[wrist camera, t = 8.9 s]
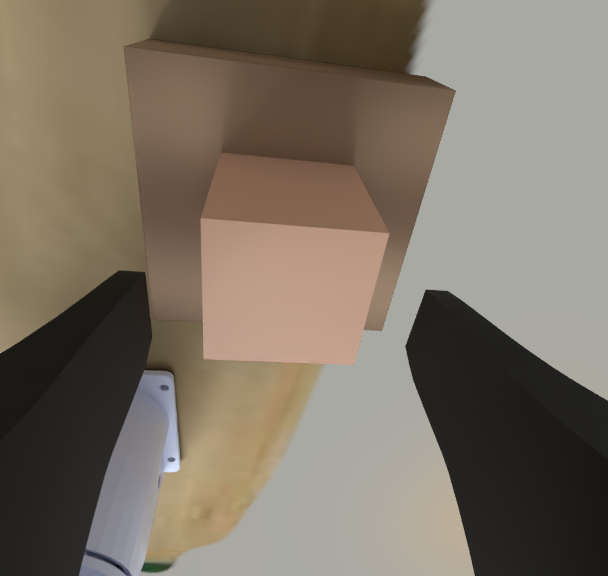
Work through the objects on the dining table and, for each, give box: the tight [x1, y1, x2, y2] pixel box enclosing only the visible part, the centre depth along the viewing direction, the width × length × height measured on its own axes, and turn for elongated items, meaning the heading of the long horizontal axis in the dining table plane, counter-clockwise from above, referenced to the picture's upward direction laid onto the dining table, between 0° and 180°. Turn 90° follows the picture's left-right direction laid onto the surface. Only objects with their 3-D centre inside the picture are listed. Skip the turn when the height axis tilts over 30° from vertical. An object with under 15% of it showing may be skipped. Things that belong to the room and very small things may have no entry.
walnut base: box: [124, 39, 455, 331], centre depth 16 cm, size 10×10×3 cm
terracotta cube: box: [201, 153, 389, 365], centre depth 13 cm, size 4×4×5 cm
